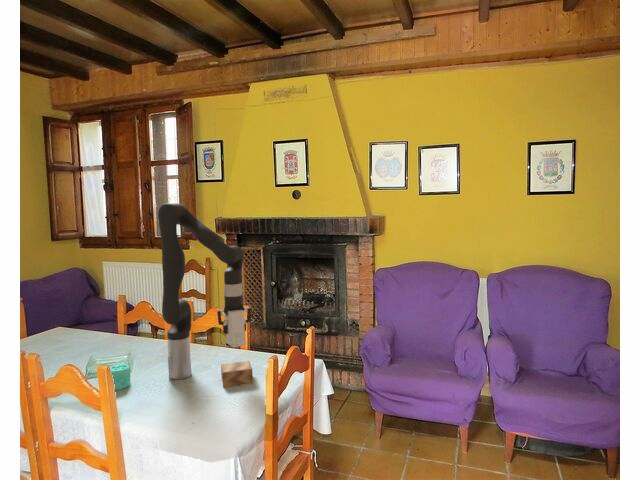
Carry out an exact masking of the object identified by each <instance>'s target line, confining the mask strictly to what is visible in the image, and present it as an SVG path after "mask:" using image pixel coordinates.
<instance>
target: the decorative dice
mask: <svg viewBox="0 0 640 480" xmlns="http://www.w3.org/2000/svg"><path fill="white" fill-rule="evenodd" d="M109 368H110V369H111V372H112V375H113V379H114V384H115V389H116V390H115V391H119V390H124V389H126V388H129V386H130V385H131V368H130V365H129V364H126V363H121V364H114V365H112V366H110V367H109Z"/></svg>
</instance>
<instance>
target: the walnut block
mask: <svg viewBox="0 0 640 480" xmlns="http://www.w3.org/2000/svg"><path fill="white" fill-rule="evenodd" d="M220 369H221V370H220V371H221V372H220V375H221V381H222V387H223V388H229V387H235V386H243V385H249V384H253V383H254V377H253V368H252V365H251V362H250V360H244V361H238V362H235V361H234V362H229V363H221V364H220Z"/></svg>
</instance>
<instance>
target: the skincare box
mask: <svg viewBox="0 0 640 480" xmlns="http://www.w3.org/2000/svg"><path fill="white" fill-rule="evenodd" d="M223 315H224V318H225V317H226V318H227V315H226V314H225V313H224V312H223ZM244 319H245V315H244V311H243V310H233V311H228V322H227V324H226V325H227V334H225V343H226V344H227V345H229V346H230V347H231V348H233V349H234V348H237V347H238V348H239V347H243V346H244V347H245V346H246V343H247V342H246V331H245V327H244Z"/></svg>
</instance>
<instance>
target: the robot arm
mask: <svg viewBox="0 0 640 480" xmlns="http://www.w3.org/2000/svg"><path fill="white" fill-rule="evenodd" d="M157 213H158V214H157V219H158V225H159V231H160V233H159V234H160V241H161V268H162V269H161V270H162V289H163V290H162V303H161V305H162V306H161V315H162V318H163V320H164V321H165V323H166V324H168V325H171V326H170V328H169V329H168V331H167V334H166V339H167V353H168V354H167V356H168V358H167V362H168V363H167V365H168V366H167V367H168V380H183V379H186V378H189V377H190V376H191V375H192V361H191V359H192V358H191V356H192V354H191V339H190V338H191V337H190V334H191V329H192V309H191V305H190V304H189V302H188V301H187V300H185V299H183V298H181V299H180V288H181V285H182V282H183V280H184V277H185V273H186V257H185V255H186V254H185V252H184V249H183V248H182V245H181V244H180V242H179V239H178V232H177V231H178V230H177V227H178V225H179V226H181V227H183V228H185V229H186V230H189V232H191V234H192V236H194V238H195V239H196V240H197V241H198V243H200V244H202V246H203V247H205V248H207V250H210V251H212V252H213V254H214V255H215V256H216V258H218V260H220V261H221V262H222V263H224V264H227V268H226V269H225V271H224V272H223V273H224V274H223V282H224V283H223V284H224V287H223V295H224V296H223V298H224V308H223V309H217V310H216V314H217V315H216V316H217V322H218V325H220V326H222V332H223V334H225V335H226V334H227V325H226V324H227V322H228V311H233V310H243V312H245V313H246V318H244V327H245V332H247V324H248V323H250V322H251V320H252V319H251V317H252V316H251V314H252V313H251V312H252V308H251V307H250V306H247V307H245V306H244V297H243V296H244V295H243V293H244V291H243V283H242V269H243V265H244V264H243V263H244V252H243V249H242V248H241V246H239V245H230V246H229V245H228V244H226V243H225V240H224V238H223V237H222V236H220V235H219V234H218V233H216V232H214V230H212V229H210V228H209V227H207V226H206V225H205V224H204V223H203V222H201V221H200V220H199V219H198V218H197V217H195V216H194V215H193V213H191V212H190V211H189V210H188V209H187V208H186V207H185V205H183V204H181V203H177V202H172V203H171V202H170V203H169V202H165V203H163V204H161V205H160V207H159V209H158V212H157ZM224 313H225V314H226V315H227V318H226V317H225V316H224V320H222V316H223V315H224Z"/></svg>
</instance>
